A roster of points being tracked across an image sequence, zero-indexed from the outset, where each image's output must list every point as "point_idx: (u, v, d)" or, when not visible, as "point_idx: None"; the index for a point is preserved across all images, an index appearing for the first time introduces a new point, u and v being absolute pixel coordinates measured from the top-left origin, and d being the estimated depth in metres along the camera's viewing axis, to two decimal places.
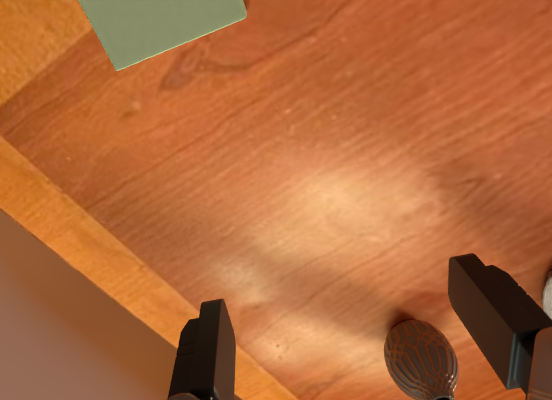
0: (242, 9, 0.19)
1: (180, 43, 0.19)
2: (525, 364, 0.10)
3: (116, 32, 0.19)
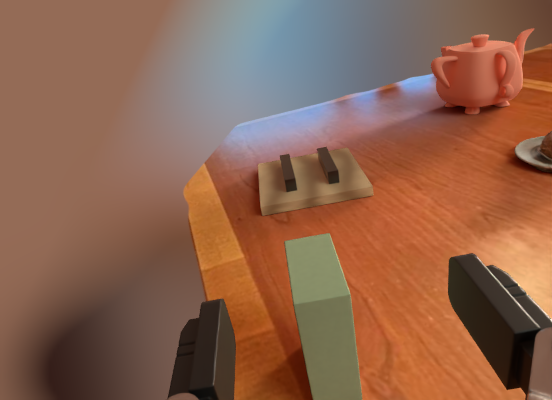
0: (324, 234, 0.30)
1: (337, 259, 0.27)
2: (525, 364, 0.10)
3: (322, 288, 0.25)
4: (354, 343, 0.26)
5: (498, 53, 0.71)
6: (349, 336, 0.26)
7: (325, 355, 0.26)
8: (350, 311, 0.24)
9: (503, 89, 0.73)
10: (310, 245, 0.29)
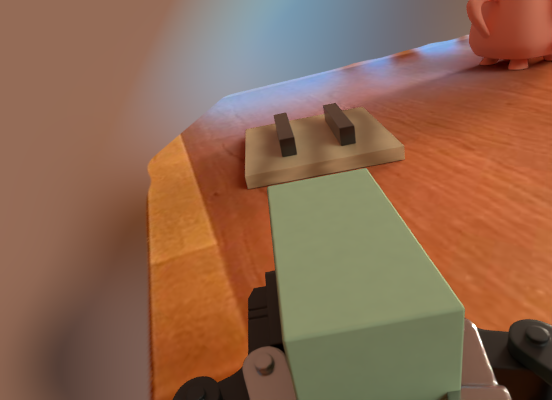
0: (355, 170, 0.14)
1: (398, 216, 0.11)
2: None
3: (370, 290, 0.08)
4: None
5: None
6: None
7: None
8: (457, 359, 0.08)
9: None
10: (326, 191, 0.13)
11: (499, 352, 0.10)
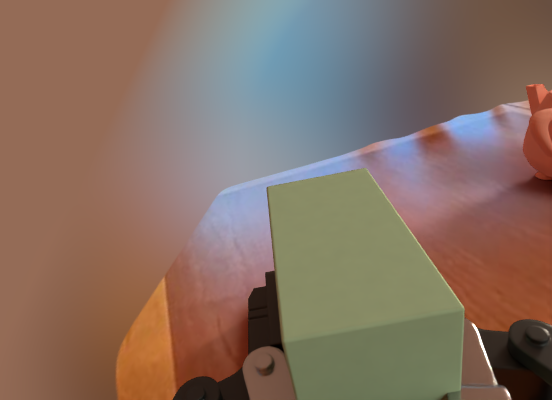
0: (355, 170, 0.14)
1: (398, 216, 0.11)
2: None
3: (370, 290, 0.08)
4: None
5: None
6: None
7: None
8: (457, 360, 0.08)
9: None
10: (325, 191, 0.13)
11: (499, 352, 0.10)
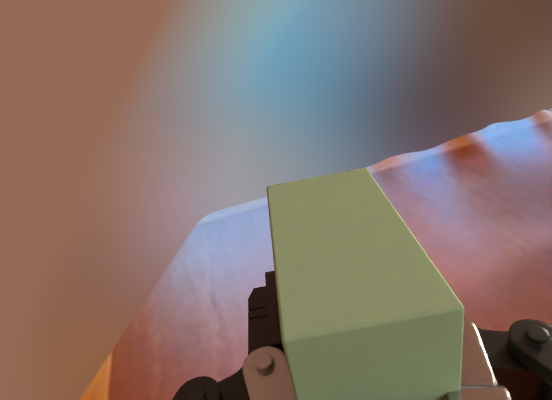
0: (355, 169, 0.14)
1: (398, 216, 0.11)
2: None
3: (369, 289, 0.08)
4: None
5: None
6: None
7: None
8: (457, 359, 0.08)
9: None
10: (325, 190, 0.13)
11: (499, 352, 0.10)
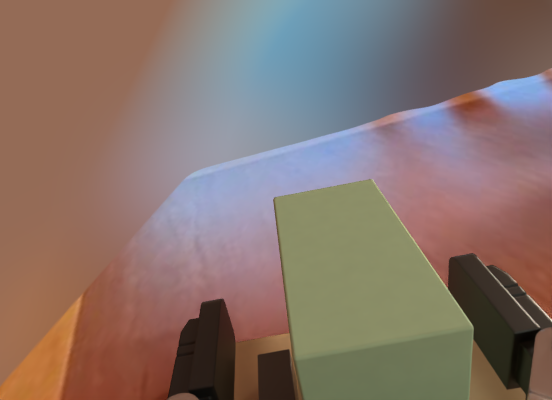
0: (361, 181, 0.14)
1: (405, 230, 0.11)
2: (525, 364, 0.10)
3: (379, 307, 0.08)
4: None
5: None
6: None
7: None
8: (466, 376, 0.08)
9: None
10: (332, 202, 0.13)
11: None
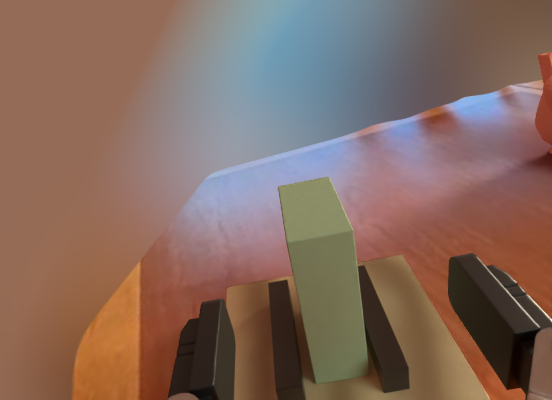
0: (323, 178, 0.27)
1: (338, 199, 0.24)
2: (525, 364, 0.10)
3: (320, 226, 0.21)
4: (358, 292, 0.22)
5: None
6: (352, 284, 0.22)
7: (324, 307, 0.23)
8: (353, 252, 0.21)
9: None
10: (307, 188, 0.26)
11: None
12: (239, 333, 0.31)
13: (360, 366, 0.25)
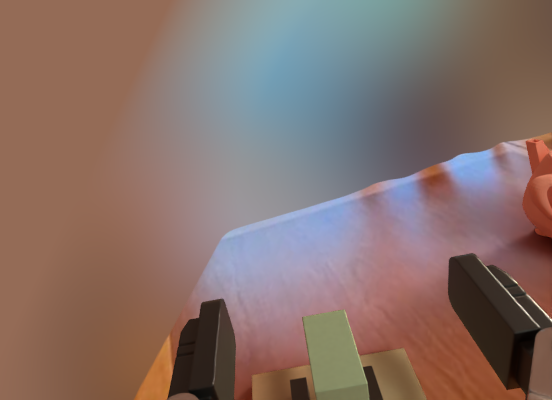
0: (339, 310, 0.32)
1: (353, 342, 0.29)
2: (525, 364, 0.10)
3: (341, 375, 0.27)
4: None
5: None
6: None
7: None
8: (367, 397, 0.27)
9: None
10: (327, 323, 0.31)
11: None
12: None
13: None
